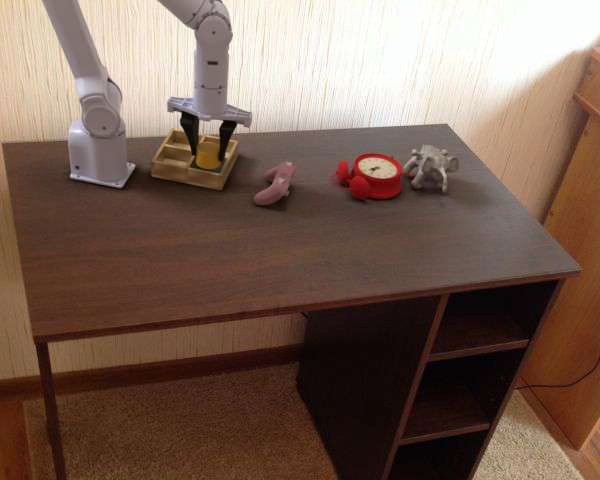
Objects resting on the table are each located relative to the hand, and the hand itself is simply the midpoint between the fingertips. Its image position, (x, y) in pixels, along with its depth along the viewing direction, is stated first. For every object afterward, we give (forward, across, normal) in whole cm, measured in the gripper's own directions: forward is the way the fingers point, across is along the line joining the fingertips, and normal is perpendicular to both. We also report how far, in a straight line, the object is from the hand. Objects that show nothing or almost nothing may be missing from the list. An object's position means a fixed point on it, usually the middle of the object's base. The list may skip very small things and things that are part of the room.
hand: (208, 155), depth 135 cm
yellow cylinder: (+1, 0, 0) cm, 1 cm away
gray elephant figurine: (+4, +41, +12) cm, 43 cm away
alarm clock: (+4, +29, +8) cm, 30 cm away
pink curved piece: (+4, +13, -1) cm, 14 cm away
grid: (+4, -3, +3) cm, 6 cm away
